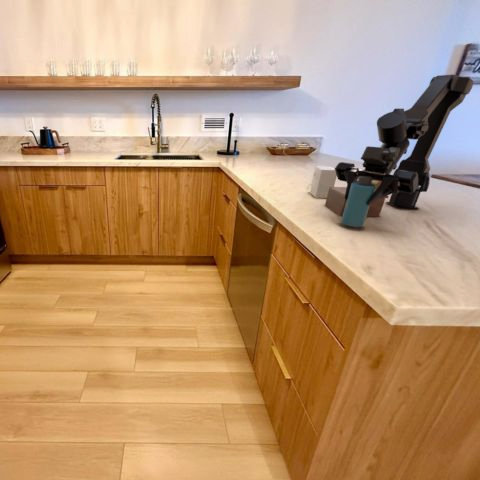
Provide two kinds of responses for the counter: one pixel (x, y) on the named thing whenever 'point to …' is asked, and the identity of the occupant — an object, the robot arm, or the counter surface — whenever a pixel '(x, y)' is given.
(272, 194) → the counter surface
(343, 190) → the chest lid
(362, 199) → the detergent bottle
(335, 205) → the chest
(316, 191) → the small box
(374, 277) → the counter surface
